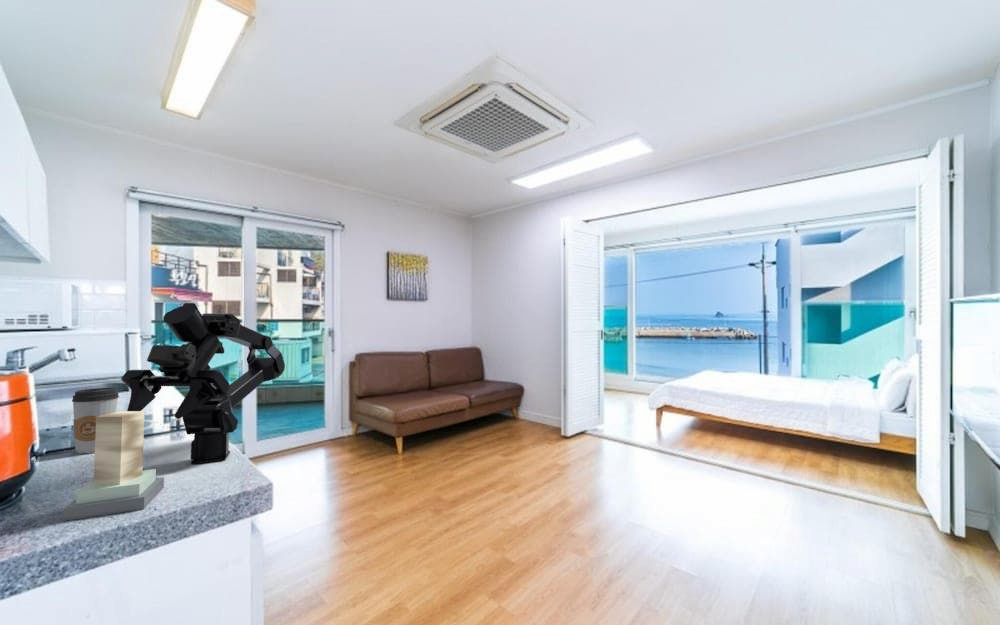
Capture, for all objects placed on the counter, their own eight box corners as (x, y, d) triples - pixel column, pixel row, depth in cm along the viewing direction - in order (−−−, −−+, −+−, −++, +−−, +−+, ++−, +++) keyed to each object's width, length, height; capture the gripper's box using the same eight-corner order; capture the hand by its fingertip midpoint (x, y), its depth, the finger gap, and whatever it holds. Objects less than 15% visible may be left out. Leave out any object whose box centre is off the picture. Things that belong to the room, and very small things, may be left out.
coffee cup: (62, 457, 94) (65, 393, 95) (78, 448, 102) (81, 388, 102) (109, 452, 98) (111, 391, 99) (122, 443, 106) (124, 386, 106)
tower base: (163, 487, 77) (164, 466, 77) (144, 508, 68) (144, 485, 68) (94, 496, 73) (95, 474, 73) (63, 520, 64) (64, 495, 64)
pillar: (117, 475, 73) (120, 411, 73) (142, 475, 73) (144, 411, 73) (93, 484, 68) (96, 416, 69) (119, 484, 68) (122, 416, 69)
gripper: (130, 330, 83) (73, 393, 72) (221, 330, 84) (179, 393, 72) (161, 365, 91) (113, 426, 79) (244, 365, 91) (208, 426, 80)
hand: (152, 417), depth 77 cm, fingers open, 9 cm apart
